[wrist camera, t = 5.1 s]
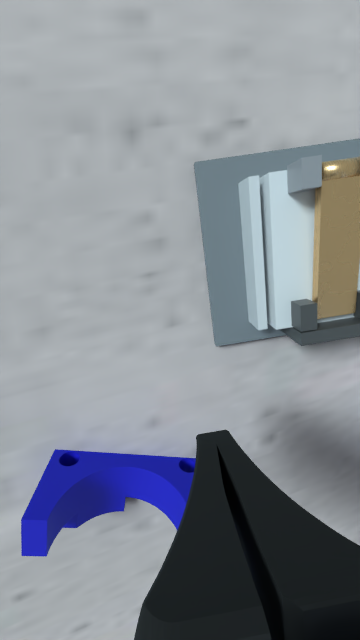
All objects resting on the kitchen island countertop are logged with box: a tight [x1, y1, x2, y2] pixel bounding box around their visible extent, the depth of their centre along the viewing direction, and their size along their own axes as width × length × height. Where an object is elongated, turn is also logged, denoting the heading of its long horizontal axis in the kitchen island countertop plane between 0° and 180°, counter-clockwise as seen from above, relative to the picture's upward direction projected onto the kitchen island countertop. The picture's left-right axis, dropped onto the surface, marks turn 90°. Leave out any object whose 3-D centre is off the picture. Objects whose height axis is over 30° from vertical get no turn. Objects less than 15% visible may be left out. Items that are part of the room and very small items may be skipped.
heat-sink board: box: [194, 139, 360, 346], centre depth 17 cm, size 14×12×5 cm
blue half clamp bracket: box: [21, 450, 196, 556], centre depth 21 cm, size 12×4×6 cm, turn 82°
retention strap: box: [312, 157, 360, 319], centre depth 16 cm, size 2×8×1 cm, turn 8°
